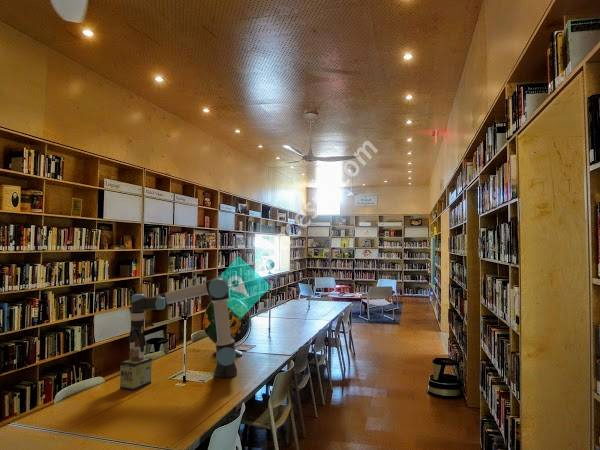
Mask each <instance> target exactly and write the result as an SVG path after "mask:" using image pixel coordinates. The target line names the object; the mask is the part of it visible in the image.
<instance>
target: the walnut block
mask: <svg viewBox="0 0 600 450" xmlns="http://www.w3.org/2000/svg"><path fill="white" fill-rule="evenodd" d="M144 357H145V356H144ZM144 357H142V358H139V346H135V347H134V348H130V347H129V360H131V361H133V362H136V361H141V360H144Z"/></svg>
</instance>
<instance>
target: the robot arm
mask: <svg viewBox="0 0 600 450" xmlns="http://www.w3.org/2000/svg"><path fill="white" fill-rule="evenodd" d="M205 295H207V296H209V299H210V302H212V304H213V311H214V320H215V330H216V339H217V341H216V342H215V351H216V353H215V354H216V357H215V359H216V363H215V364H216V365H215V366H214V370H213V376H214V377H216V378H220V379H226V378H233V377H236V376H237V375H238V369H237V366H236V362H235V360H236V359H237V358H236V357H237V354H236V347H235V346H236V340H235V339H234V338H232V333H231V323H230V316H229V307H228V306H229V305H228V300H229V299H230V294H229V284H228V281H227V280H226V279H225V278H224V277H221V276H217V277H214V278H211V279H209V280H204V282H203V283H199V284H195V285H191V286H187V287H184V288H179V289H176V290H172V291H168V292H163V293H158V294H157V293H156V295H154V296H151V297H150V296H149V297H146V294H144V293H135V294H132V296H131V302H130V303H131V305H130V307H131V308H130V309H131V311H130V312H131V313H130V330H129V331H130V332H129V336H128V342H129V349H130V348H134V347H136V338H137V341H138V343H139V345H138V347H139V358H142V357H145V346H147V342H146V341H147V340H146V336H145V329H144V328H142V327H144V326H145V320H144V319H145V315H146V314H145V311H146V310H150V311H151V310H158V311H159V310H164V309H165V308H166V305H171V304H174V303H178V302H182V301H187V300H190V299H193V298H198V297H201V296H205Z"/></svg>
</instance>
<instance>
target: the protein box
mask: <svg viewBox="0 0 600 450" xmlns="http://www.w3.org/2000/svg"><path fill="white" fill-rule="evenodd" d="M152 360H153V359H152V358H151V357H146V356H144V360H141V361H136V362H133V361H131V360H130V359H127V360H124V361H122V362H120V370H119V371H120V372H119V389H120V390H124V391H131V392H132V391H133V392H134V391H137V390H139V389H142V388H144V387H146V386H149V385H150V384H152V363H153V361H152Z"/></svg>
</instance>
